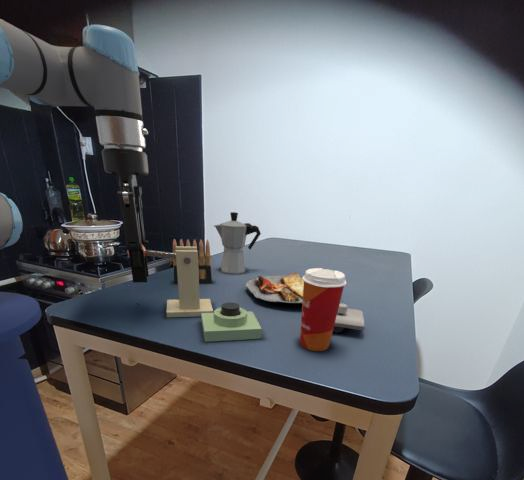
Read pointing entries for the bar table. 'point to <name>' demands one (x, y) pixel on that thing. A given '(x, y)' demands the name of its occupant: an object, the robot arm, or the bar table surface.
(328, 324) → the paper cup
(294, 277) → the food plate
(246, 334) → the button block
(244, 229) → the coffee maker
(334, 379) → the bar table surface
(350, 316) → the light switch
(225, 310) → the button
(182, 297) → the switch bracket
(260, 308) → the bar table surface
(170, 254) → the switch lever
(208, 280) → the ammunition clip
